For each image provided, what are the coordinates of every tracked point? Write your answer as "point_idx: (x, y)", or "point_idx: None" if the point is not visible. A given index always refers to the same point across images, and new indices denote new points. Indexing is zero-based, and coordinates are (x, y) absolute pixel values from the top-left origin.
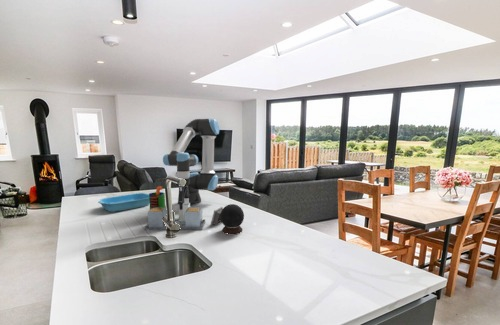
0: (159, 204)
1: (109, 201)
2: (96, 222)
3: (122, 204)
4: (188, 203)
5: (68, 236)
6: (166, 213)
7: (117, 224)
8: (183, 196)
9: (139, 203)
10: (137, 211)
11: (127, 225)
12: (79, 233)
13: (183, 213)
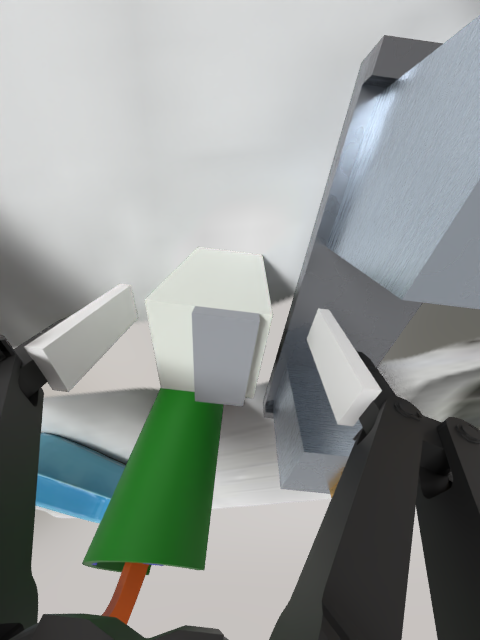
0: (213, 472)
1: (93, 503)
2: (232, 484)
3: None
4: (227, 319)
5: (315, 497)
6: (309, 410)
7: (256, 461)
8: (407, 552)
9: (78, 464)
10: (129, 444)
11: (271, 446)
12: (303, 491)
13: (332, 316)
